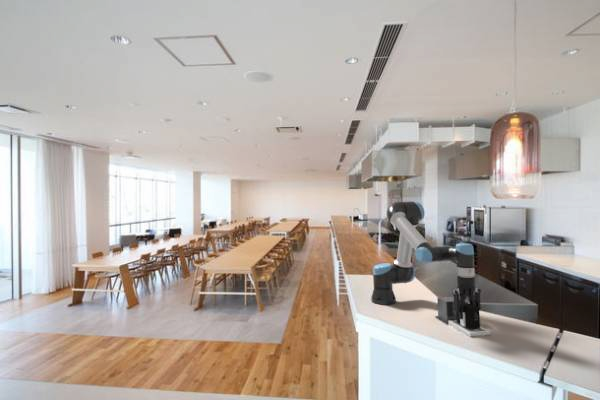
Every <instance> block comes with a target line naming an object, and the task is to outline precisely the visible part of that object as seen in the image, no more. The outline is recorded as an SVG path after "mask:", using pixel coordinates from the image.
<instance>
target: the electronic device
mask: <svg viewBox="0 0 600 400" xmlns="http://www.w3.org/2000/svg"><path fill="white" fill-rule="evenodd" d="M463 312H465V324H466V327H467V328H469V329H471V330H473V329H479V328H480V326H481V320H480V318H481V317H480V310H479V308H478V307H477V306H474V305H471V304H470V303H469V302H468V303H465V304H464V310H463ZM456 316H457V323H458V324H460V318H459V312H458V311H456Z"/></svg>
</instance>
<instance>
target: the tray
mask: <svg viewBox="0 0 600 400" xmlns="http://www.w3.org/2000/svg"><path fill="white" fill-rule="evenodd" d="M447 325H449V326H451V327H453V328H454V329H456V331H457V330H458V332H461V333H463V334H464V335H466V336H467V337H469V338H473V337H474V338H475V336H476V337H486V336H485V335H489V336H491V331H490V330H489V329H486V328H484V327H482V326H481V325H480V328H479V329H473V330H471V329H469V328H467V327H464V326H462V325H460V324H458V323H457V320H450V321H448V324H447Z"/></svg>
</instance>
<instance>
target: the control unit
mask: <svg viewBox="0 0 600 400" xmlns="http://www.w3.org/2000/svg"><path fill="white" fill-rule="evenodd" d="M459 299H460V296H459ZM465 303H468V304H469V299H467V298H466V299H465ZM434 318H435V319H437V320H439V321H440V322H442V323H443V324H445V325H449V324H448V321H450V320H457V316H456V310H455V309H454V296H443V297H439V296H438V297H437V315H435V317H434Z"/></svg>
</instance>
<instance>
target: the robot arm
mask: <svg viewBox="0 0 600 400" xmlns="http://www.w3.org/2000/svg"><path fill="white" fill-rule="evenodd" d="M386 218H387V220H388V221H389V223H390V224H391V225H392V226H395V227H396V228H397V230H398V231H399V236H398V237H399V239H398V240H399V241H398V246H397V252H396V253H397V254H396V259H394V261H393V264H391V263H388V262H385V263H384V262H382V263H378V264H375V265H374V266H373V267H372V270H373V271H372V276H373V279H372V280H373V289H372V294H371V297H370V299H371V300H370V301H371V303H374V304H377V305H383V306H384V305H385V306H386V305H387V306H388V305H394V304H396V302H397V300H396V299H397V298H396V295H395V292H394V289H393V285H396V284H408V283H411V282H413V281H414V280H415V277H416V269H415V267H414V265H413V263H412V261H411V259H412V255H413V253H412V252H413V249H414V251H415V252H414V256H415V258H416V260H417V262H419V263H422V264H423V263H424V264H427V263H436V262H438V263H441V262H454V263H456V275H457V277H456V278H457V279H456V280H457V285H458V286H457V288H454V289H453V288H452V290H451V292H452V294H453V297H454V309H455V310H456V311H458V312H459V318H460V325H462V326H464V327H466V324H465V312H463V310H464V304H465V299H466V300H467V298H468V302H469V304H471V305H474V306H477V307H478V308H479V311H481V292H482V289H480V288H478V287H476V286H475V285H476V277H475V276H476V272H475V251H474V250H475V249H474V245H473V244H471V243H464V242H462V243H461V242H460V243H456V244H455V246H452V245H447V244H445V245H444V244H443V245H440V246H432V245H431V244H430V243H429V242H428V241H427V239H426V238H425V237H423V235H422V234H421V233H420V231H418V230H417V228H416V227H417V226H419V223H420V221H422V220H423V219H424V218H425V208H424V207H423V205H422V204H421V202H419V201H412V200H411V201H395V202H393V203H391V204H390V205H388V207H387V210H386ZM459 297H460V299H459Z"/></svg>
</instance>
